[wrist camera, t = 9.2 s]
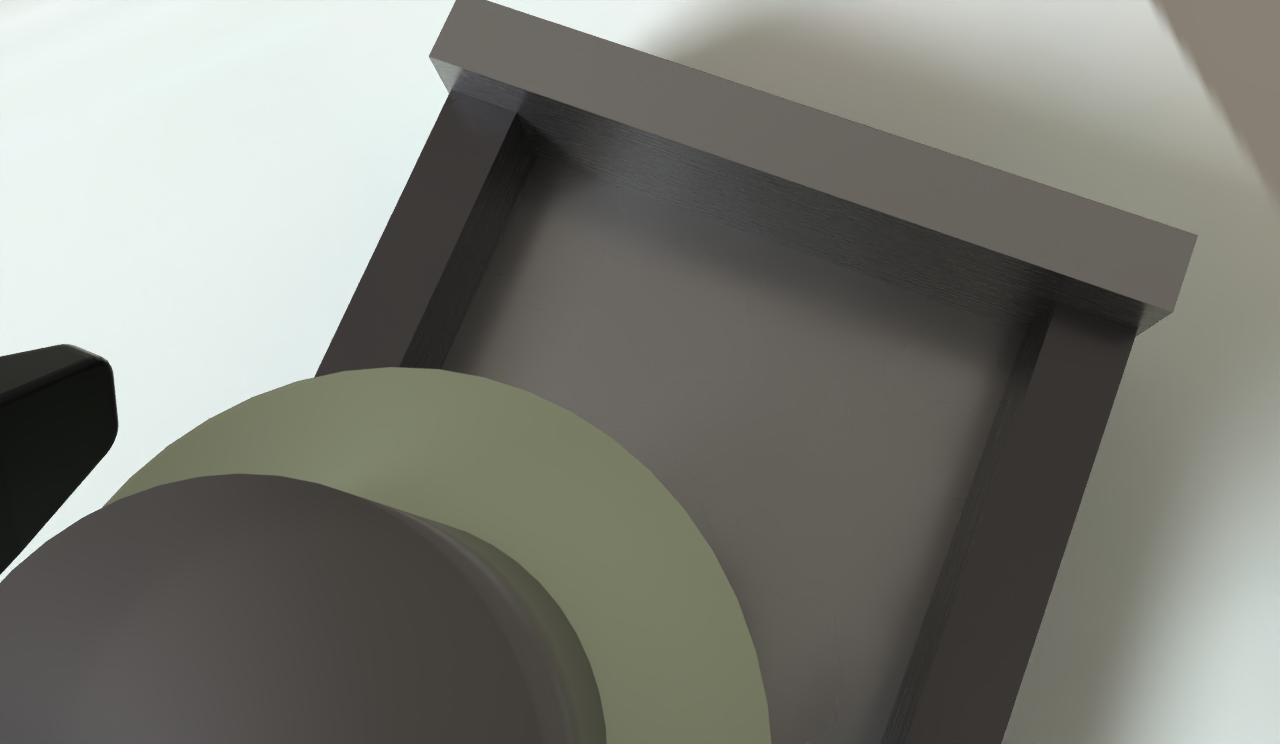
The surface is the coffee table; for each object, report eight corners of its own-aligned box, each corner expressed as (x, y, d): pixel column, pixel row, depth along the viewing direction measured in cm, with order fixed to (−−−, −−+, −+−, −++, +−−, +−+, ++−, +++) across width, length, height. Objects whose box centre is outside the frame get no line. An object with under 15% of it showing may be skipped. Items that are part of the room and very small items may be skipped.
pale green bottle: (680, 896, 16) (490, 1829, 4) (391, 760, 17) (-546, 1140, 4) (797, 586, 17) (953, 497, 5) (517, 471, 17) (18, 139, 5)
